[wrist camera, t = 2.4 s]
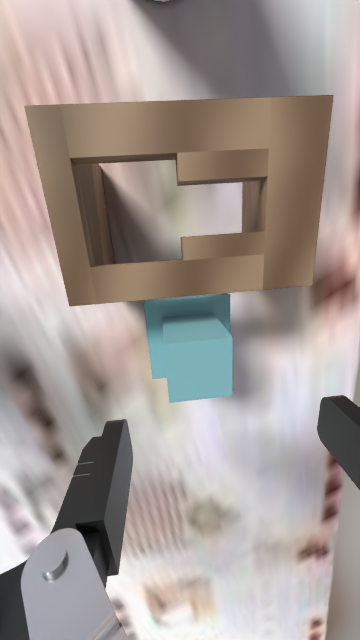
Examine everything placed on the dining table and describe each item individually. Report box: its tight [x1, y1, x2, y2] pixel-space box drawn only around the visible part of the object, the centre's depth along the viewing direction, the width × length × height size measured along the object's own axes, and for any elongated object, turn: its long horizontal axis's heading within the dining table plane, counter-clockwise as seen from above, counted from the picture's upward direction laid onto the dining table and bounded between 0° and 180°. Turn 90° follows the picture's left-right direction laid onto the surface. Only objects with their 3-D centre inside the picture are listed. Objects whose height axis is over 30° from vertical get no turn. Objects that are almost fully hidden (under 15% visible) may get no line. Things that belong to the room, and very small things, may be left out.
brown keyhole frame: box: [24, 95, 333, 306], centre depth 16 cm, size 14×9×9 cm, turn 94°
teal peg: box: [143, 293, 233, 403], centre depth 19 cm, size 7×7×10 cm
